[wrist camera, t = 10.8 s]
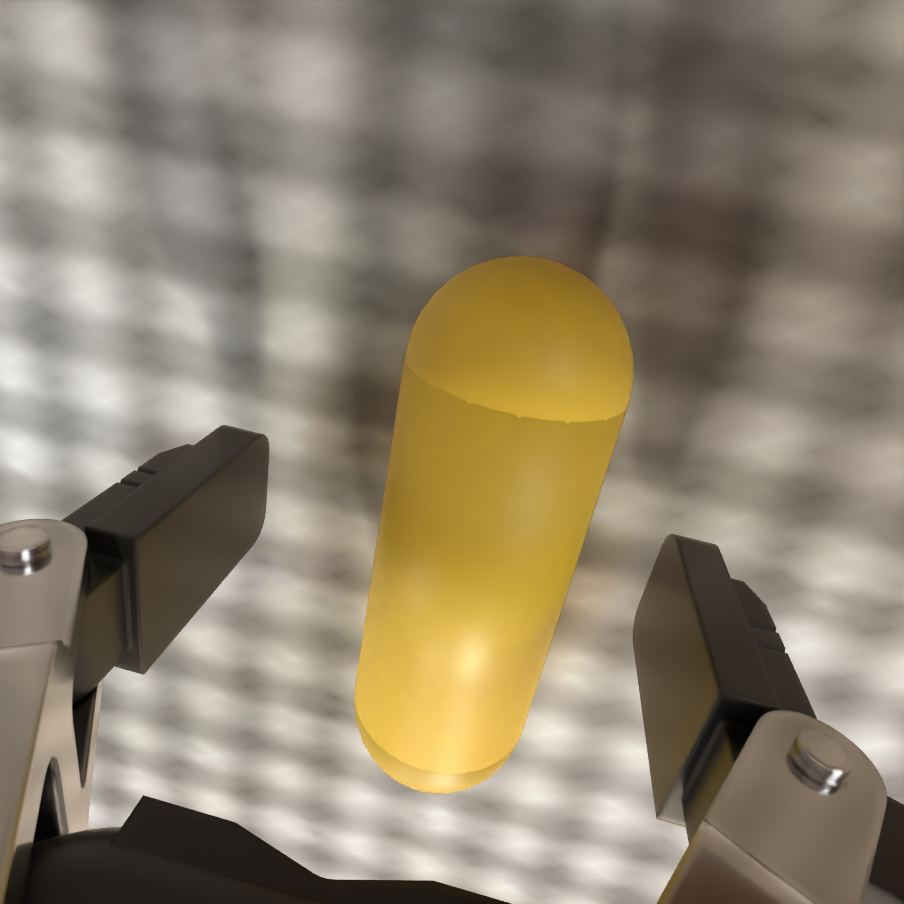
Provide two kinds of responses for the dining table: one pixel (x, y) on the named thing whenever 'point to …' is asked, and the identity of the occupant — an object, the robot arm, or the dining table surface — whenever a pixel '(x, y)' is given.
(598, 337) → the yellow round-top cylinder
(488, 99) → the dining table surface
